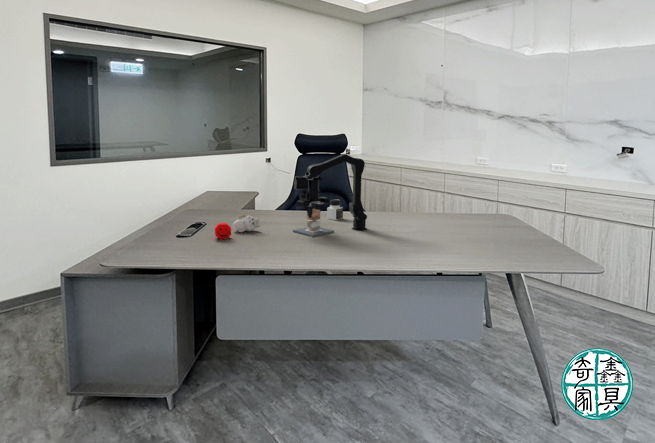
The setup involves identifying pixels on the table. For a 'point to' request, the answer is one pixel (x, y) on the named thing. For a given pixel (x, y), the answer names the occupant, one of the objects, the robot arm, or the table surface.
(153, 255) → the table surface
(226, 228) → the ball
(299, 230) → the blue-grey square plate
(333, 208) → the medicine bottle
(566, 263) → the table surface
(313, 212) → the terracotta block
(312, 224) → the off-white block
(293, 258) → the table surface
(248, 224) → the cat figurine
